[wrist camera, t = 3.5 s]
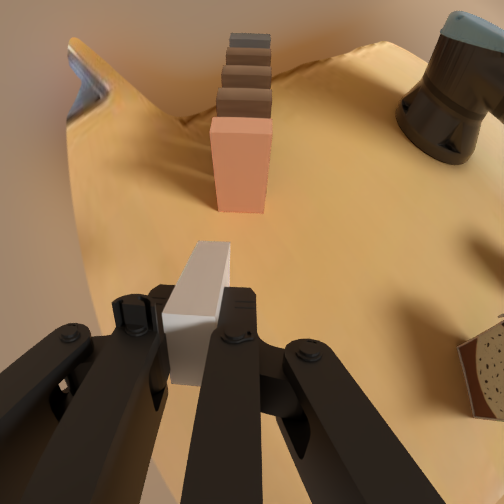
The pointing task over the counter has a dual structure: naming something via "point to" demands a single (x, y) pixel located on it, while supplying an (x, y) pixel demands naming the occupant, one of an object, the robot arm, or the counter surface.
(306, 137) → the counter surface
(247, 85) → the domino
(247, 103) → the domino
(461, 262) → the counter surface
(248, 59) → the domino
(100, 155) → the counter surface
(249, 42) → the domino
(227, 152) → the domino
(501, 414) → the food container
